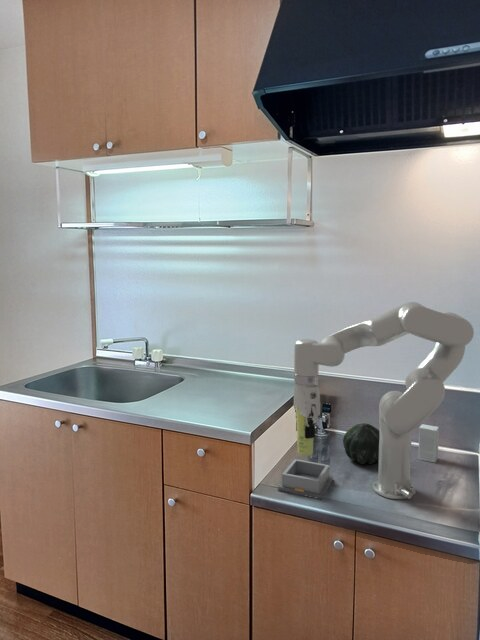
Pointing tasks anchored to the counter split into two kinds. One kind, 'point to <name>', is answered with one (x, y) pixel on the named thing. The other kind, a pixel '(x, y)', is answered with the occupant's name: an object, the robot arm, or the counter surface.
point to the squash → (362, 443)
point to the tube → (303, 436)
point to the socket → (306, 478)
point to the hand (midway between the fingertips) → (305, 433)
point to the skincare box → (428, 443)
